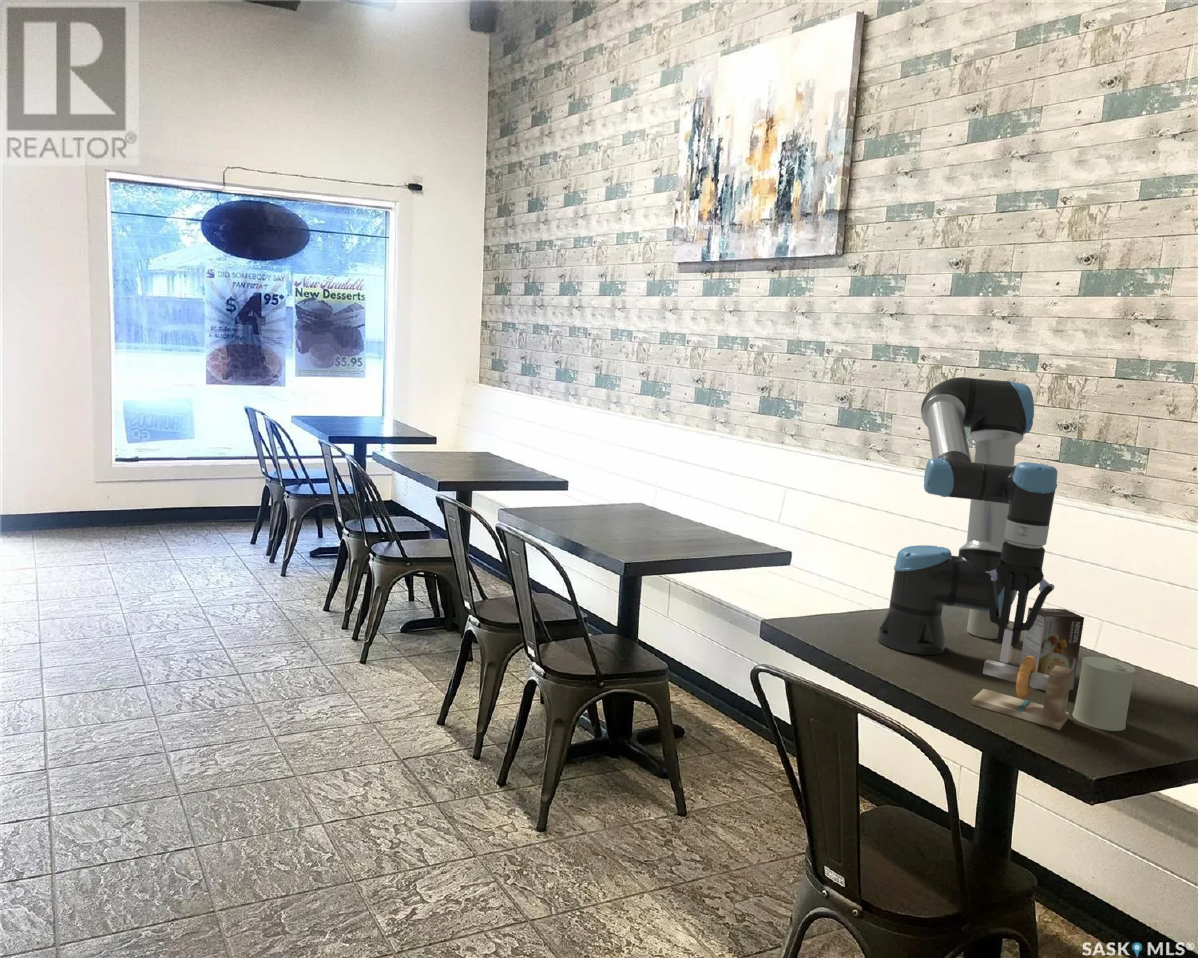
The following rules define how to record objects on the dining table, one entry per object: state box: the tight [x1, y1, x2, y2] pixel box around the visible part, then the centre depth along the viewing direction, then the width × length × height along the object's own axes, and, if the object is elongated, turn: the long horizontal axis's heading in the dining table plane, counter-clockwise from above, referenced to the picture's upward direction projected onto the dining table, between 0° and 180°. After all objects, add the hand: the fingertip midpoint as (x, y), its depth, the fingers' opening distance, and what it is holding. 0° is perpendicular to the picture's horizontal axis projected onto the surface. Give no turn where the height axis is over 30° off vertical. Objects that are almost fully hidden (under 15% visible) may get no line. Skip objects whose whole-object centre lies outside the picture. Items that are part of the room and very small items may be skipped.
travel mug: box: [966, 609, 1001, 640], centre depth 236 cm, size 8×8×18 cm
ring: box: [1015, 656, 1037, 700], centre depth 184 cm, size 2×8×8 cm, turn 143°
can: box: [1072, 655, 1137, 732], centre depth 183 cm, size 9×9×12 cm
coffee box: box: [1019, 607, 1085, 691], centre depth 202 cm, size 9×6×16 cm
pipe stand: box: [971, 658, 1073, 731], centre depth 185 cm, size 16×8×10 cm, turn 53°
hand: (1005, 660), depth 187 cm, fingers closed
